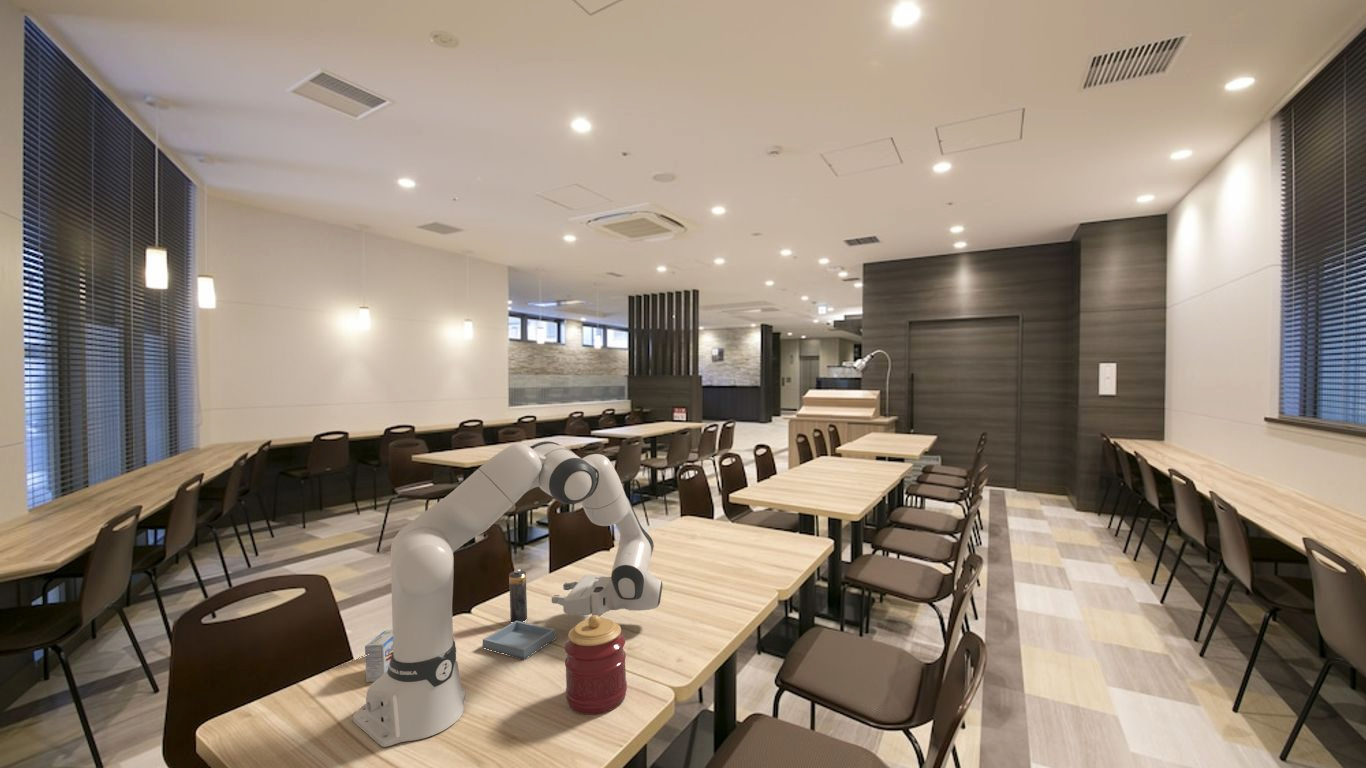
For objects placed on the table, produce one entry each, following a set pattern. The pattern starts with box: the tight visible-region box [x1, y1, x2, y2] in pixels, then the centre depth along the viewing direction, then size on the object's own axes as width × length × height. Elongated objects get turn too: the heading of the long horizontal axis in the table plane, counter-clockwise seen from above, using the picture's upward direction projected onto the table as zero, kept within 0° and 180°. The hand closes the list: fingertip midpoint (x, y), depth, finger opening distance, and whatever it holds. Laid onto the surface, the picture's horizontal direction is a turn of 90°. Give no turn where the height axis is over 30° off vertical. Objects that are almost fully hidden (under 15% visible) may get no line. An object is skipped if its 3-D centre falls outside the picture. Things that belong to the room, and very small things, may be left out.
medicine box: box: [364, 629, 393, 683], centre depth 127 cm, size 8×4×9 cm, turn 179°
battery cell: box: [508, 568, 528, 623], centre depth 153 cm, size 5×5×15 cm
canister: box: [563, 614, 628, 715], centre depth 114 cm, size 13×13×18 cm
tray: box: [482, 621, 557, 661], centre depth 139 cm, size 14×12×2 cm
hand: (558, 592), depth 151 cm, fingers open, 8 cm apart
